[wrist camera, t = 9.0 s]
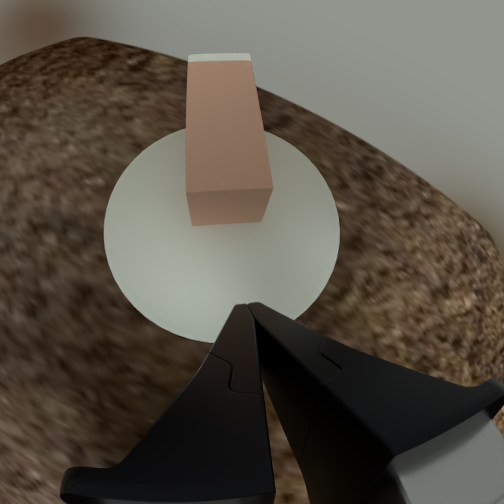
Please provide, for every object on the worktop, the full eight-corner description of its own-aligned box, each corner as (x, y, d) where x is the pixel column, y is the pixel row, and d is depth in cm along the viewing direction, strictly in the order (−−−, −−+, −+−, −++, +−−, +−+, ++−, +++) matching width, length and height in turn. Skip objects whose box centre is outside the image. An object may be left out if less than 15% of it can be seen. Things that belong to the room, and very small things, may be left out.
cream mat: (370, 199, 22) (372, 197, 22) (256, 393, 17) (257, 394, 17) (201, 99, 23) (201, 96, 23) (64, 246, 18) (61, 244, 18)
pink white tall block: (273, 188, 16) (249, 53, 19) (185, 192, 15) (188, 54, 19) (261, 222, 20) (243, 93, 23) (191, 226, 19) (190, 95, 23)
